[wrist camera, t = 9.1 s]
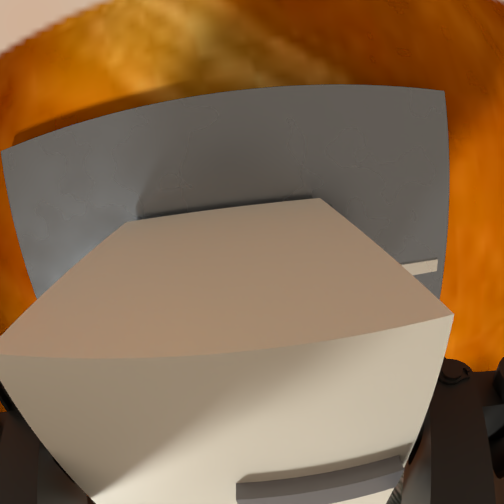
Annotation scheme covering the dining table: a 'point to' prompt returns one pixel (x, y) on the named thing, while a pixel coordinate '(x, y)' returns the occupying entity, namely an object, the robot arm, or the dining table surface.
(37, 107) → the dining table surface
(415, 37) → the dining table surface
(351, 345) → the white drawer box
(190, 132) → the gray board
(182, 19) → the dining table surface
